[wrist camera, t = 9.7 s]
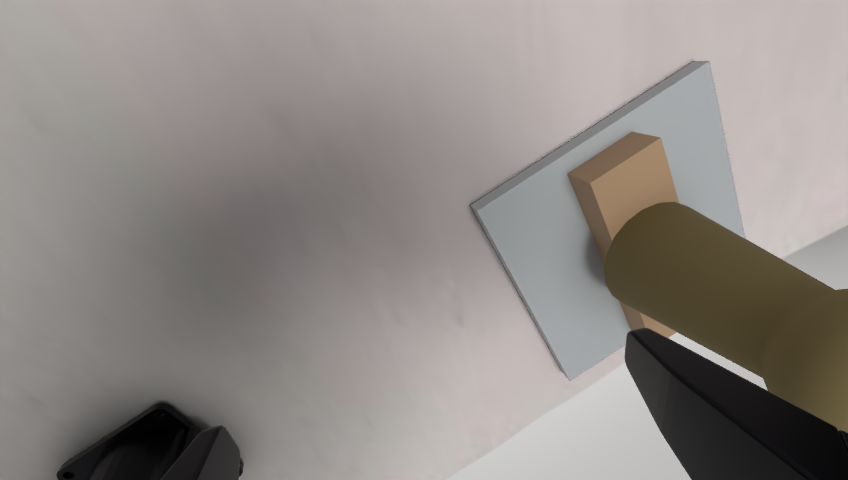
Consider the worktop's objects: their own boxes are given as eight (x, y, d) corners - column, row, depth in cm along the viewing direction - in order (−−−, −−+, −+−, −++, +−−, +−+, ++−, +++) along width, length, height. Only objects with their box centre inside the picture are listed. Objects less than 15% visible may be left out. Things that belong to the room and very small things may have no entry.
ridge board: (561, 371, 29) (588, 402, 26) (470, 205, 22) (492, 224, 20) (736, 257, 29) (781, 277, 26) (693, 61, 23) (746, 60, 20)
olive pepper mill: (638, 324, 24) (862, 499, 15) (583, 264, 22) (810, 428, 12) (719, 248, 24) (1010, 378, 14) (671, 177, 21) (988, 275, 11)
